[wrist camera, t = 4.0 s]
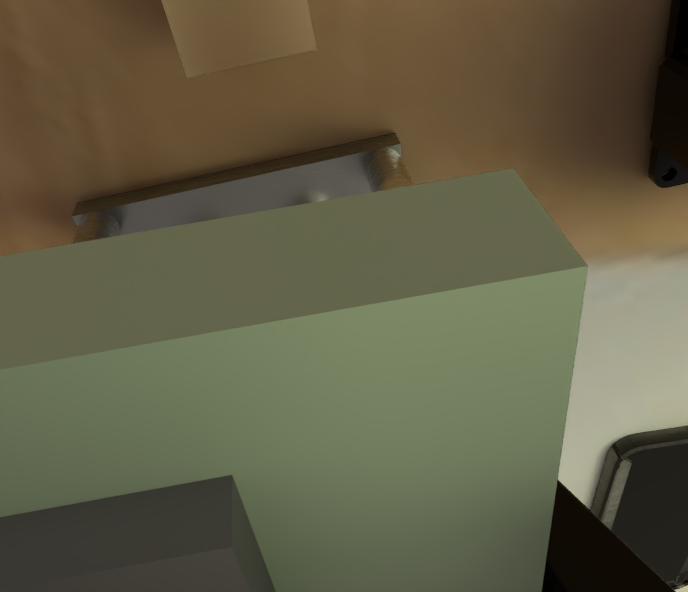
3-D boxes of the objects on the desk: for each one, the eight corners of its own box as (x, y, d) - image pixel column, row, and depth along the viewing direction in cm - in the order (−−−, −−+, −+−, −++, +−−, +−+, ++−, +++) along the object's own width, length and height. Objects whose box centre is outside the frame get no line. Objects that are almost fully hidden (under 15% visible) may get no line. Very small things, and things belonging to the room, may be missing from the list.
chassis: (395, 132, 20) (440, 225, 15) (433, 426, 28) (469, 539, 24) (77, 203, 20) (31, 315, 15) (212, 475, 28) (208, 597, 24)
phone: (570, 607, 39) (620, 449, 30) (562, 589, 40) (608, 431, 31) (693, 586, 40) (779, 425, 30) (683, 569, 40) (763, 408, 31)
